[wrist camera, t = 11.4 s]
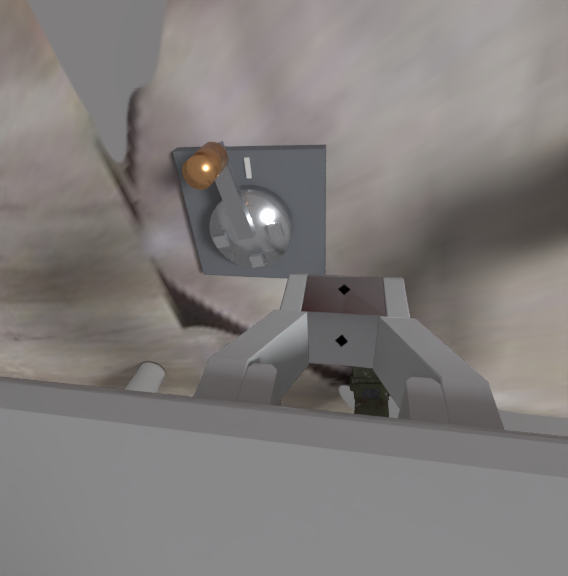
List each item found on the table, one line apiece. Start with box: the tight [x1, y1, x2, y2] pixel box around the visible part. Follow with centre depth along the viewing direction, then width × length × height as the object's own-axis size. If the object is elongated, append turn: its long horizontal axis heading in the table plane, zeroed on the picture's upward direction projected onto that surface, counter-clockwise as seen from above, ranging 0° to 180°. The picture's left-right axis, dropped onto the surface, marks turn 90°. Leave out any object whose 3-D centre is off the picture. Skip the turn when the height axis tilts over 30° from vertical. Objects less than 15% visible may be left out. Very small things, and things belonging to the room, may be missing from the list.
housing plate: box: [173, 145, 326, 278], centre depth 47 cm, size 18×18×2 cm
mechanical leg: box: [350, 366, 389, 417], centre depth 52 cm, size 14×7×30 cm, turn 11°
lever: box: [182, 141, 293, 268], centre depth 41 cm, size 16×10×9 cm, turn 16°
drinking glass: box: [124, 362, 165, 393], centre depth 68 cm, size 7×7×15 cm
